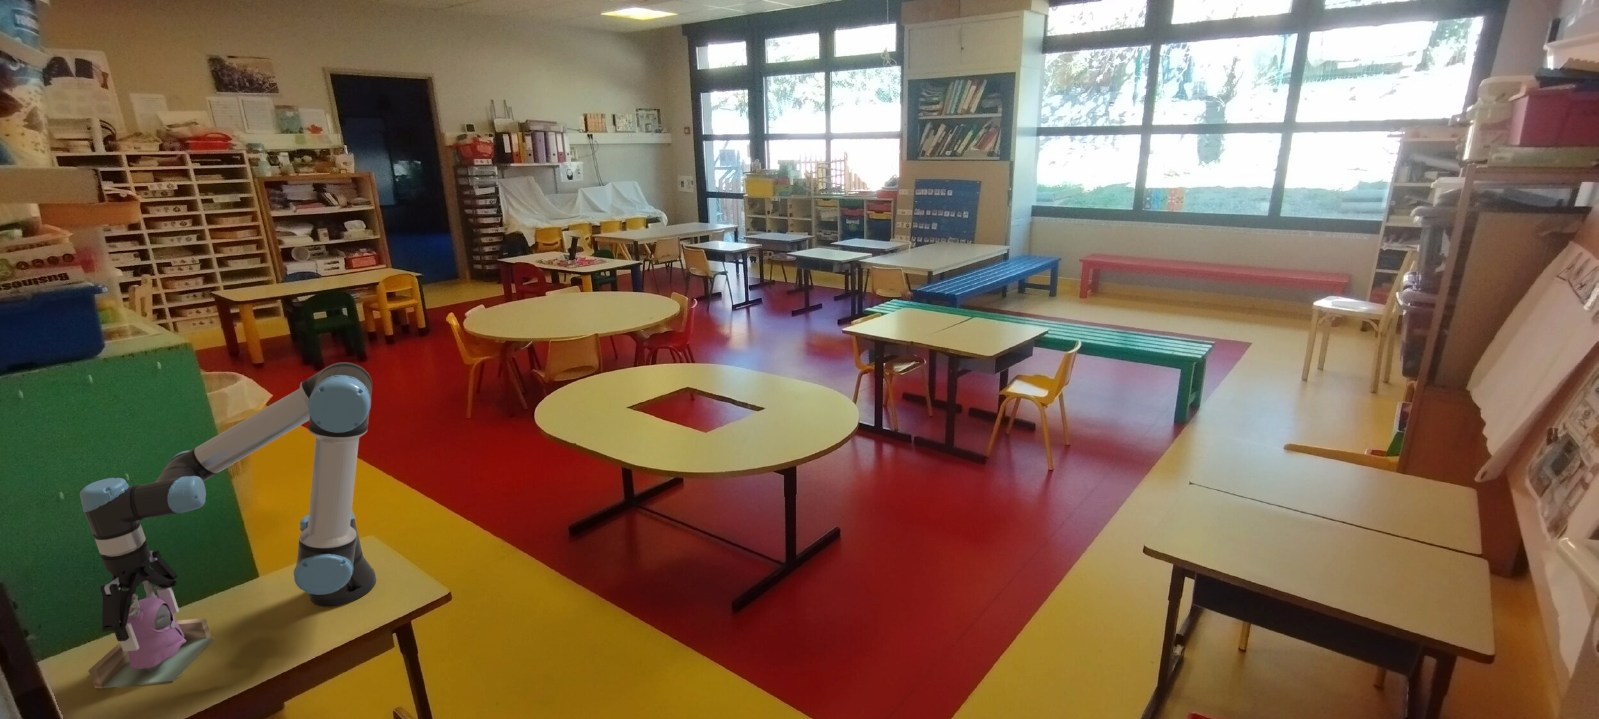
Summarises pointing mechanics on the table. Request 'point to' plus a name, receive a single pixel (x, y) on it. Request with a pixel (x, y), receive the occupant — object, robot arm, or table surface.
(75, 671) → the table surface
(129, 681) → the tray
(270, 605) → the table surface
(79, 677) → the table surface
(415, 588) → the table surface
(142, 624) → the toy character
